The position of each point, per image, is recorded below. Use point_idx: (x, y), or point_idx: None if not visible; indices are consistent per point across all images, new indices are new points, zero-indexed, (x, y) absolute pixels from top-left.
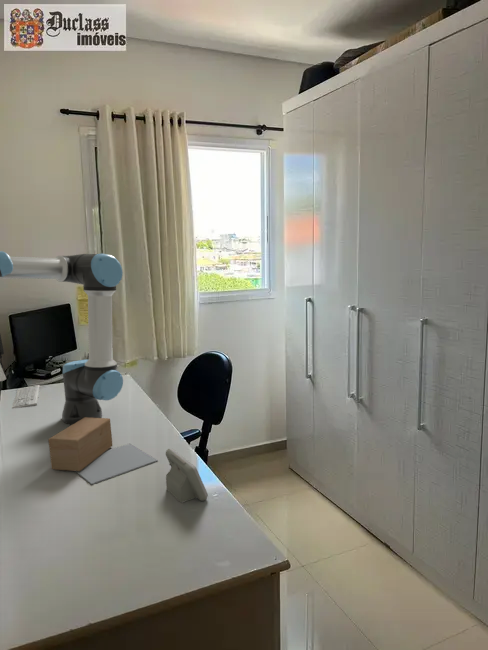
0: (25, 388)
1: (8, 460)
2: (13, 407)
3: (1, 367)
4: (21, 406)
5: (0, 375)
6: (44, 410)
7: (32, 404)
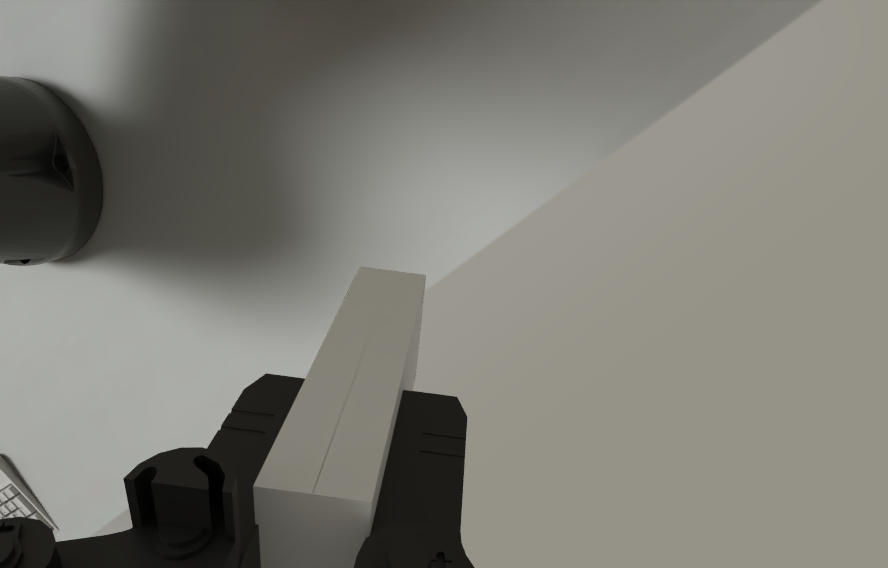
0: None
1: (491, 226)
2: (50, 527)
3: (317, 365)
4: (33, 502)
5: (415, 317)
6: (28, 390)
7: (4, 468)
